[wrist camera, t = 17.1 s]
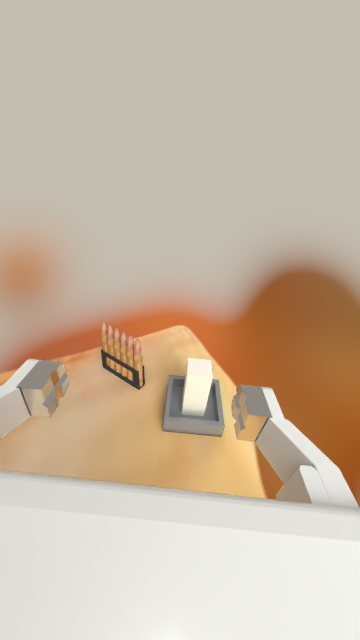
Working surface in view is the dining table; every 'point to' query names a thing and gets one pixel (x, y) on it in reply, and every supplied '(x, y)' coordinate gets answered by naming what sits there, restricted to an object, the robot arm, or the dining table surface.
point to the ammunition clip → (122, 356)
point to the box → (188, 423)
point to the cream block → (196, 386)
